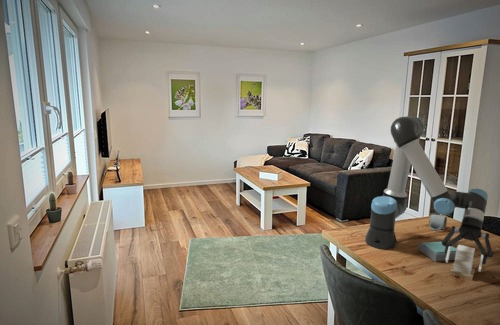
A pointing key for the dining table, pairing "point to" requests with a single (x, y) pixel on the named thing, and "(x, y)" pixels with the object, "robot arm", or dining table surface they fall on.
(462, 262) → the pallet
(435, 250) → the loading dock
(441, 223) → the ceramic mug
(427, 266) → the dining table surface
